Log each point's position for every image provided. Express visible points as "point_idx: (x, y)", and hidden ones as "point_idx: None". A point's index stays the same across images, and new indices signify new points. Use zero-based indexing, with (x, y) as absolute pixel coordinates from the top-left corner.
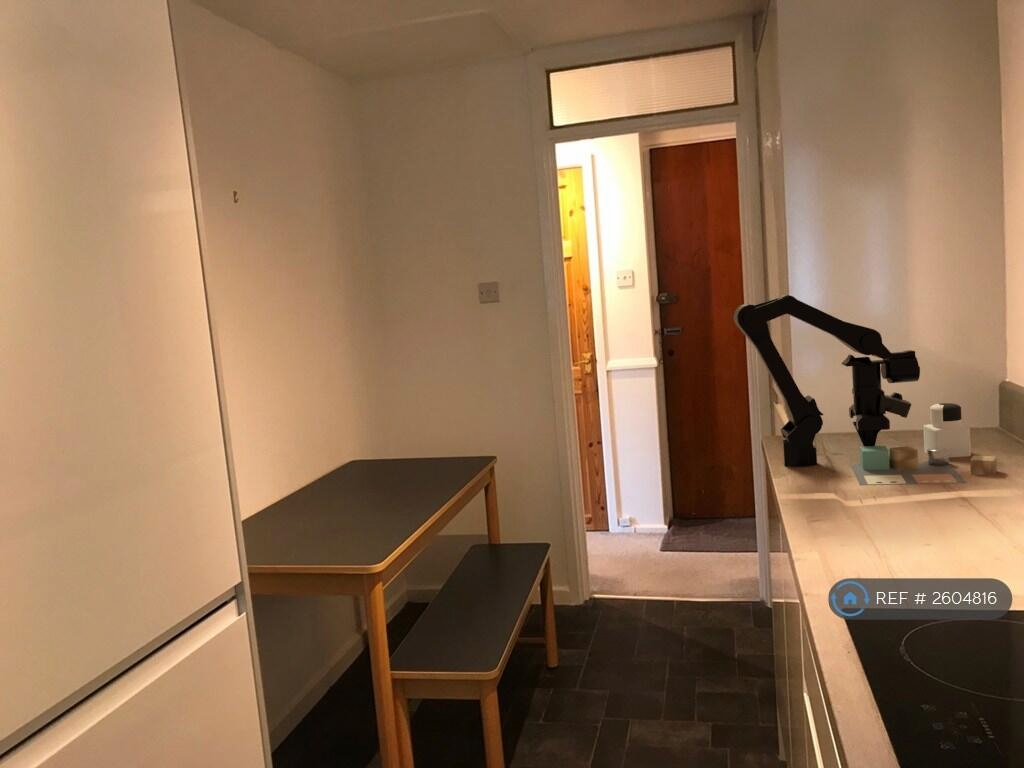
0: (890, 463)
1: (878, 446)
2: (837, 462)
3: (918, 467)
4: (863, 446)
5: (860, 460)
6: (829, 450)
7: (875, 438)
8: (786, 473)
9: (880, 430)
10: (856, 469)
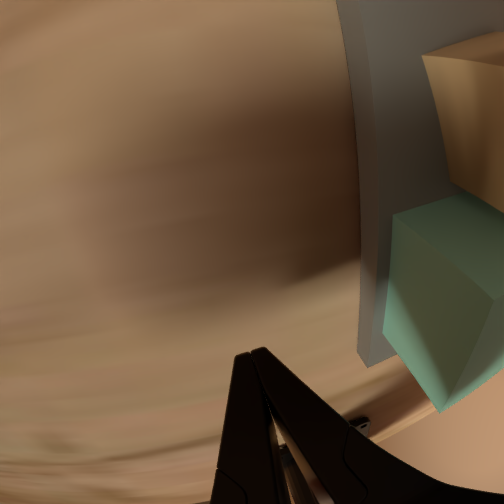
0: (469, 186)
1: (490, 332)
2: (217, 423)
3: (474, 18)
4: (447, 402)
5: (395, 350)
6: (22, 456)
7: (380, 448)
8: (373, 438)
9: (478, 491)
10: None
